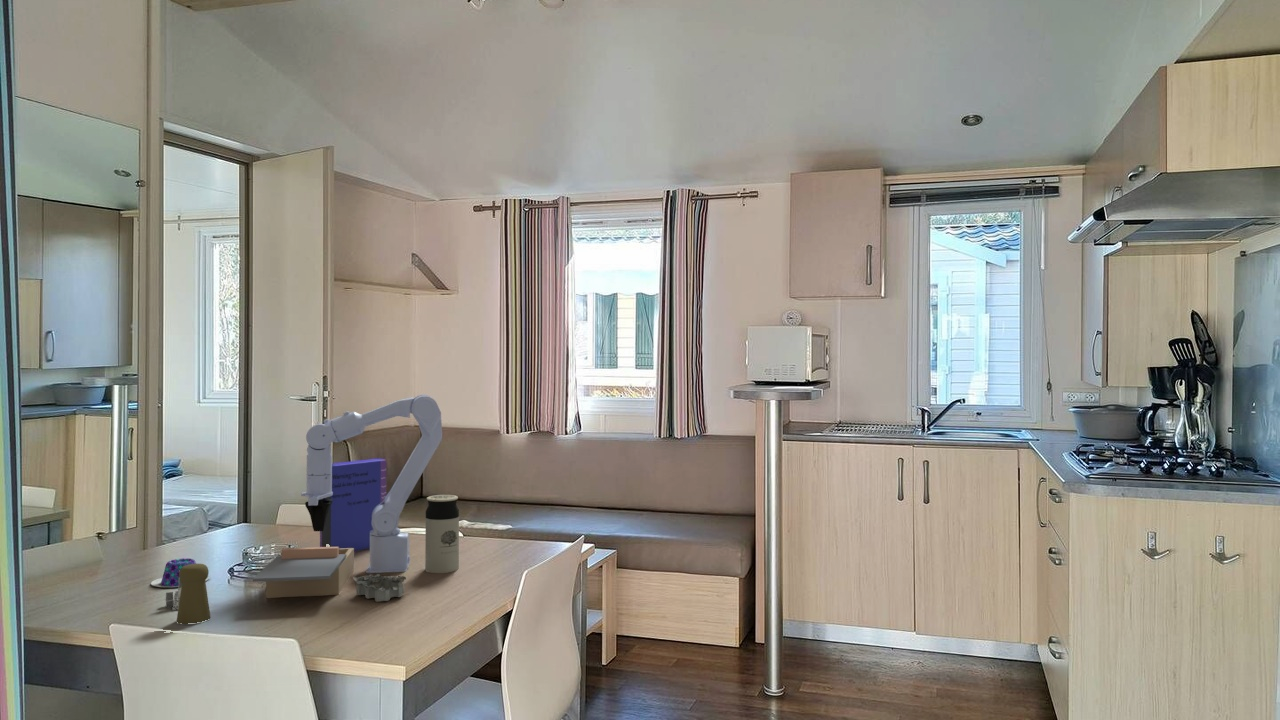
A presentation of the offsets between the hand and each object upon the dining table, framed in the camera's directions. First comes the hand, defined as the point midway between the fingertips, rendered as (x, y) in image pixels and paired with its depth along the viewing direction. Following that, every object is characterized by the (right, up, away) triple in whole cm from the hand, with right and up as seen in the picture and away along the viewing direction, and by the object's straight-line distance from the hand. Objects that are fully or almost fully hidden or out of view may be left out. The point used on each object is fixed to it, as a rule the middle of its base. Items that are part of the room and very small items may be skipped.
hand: (318, 530), depth 205 cm
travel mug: (+29, -11, +4) cm, 31 cm away
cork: (-11, -11, -36) cm, 39 cm away
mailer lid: (+4, -4, -20) cm, 21 cm away
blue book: (0, -11, +25) cm, 27 cm away
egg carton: (+21, -11, -17) cm, 30 cm away
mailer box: (+2, -10, -10) cm, 14 cm away
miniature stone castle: (-21, -11, -26) cm, 35 cm away
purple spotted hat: (-29, -11, -8) cm, 32 cm away
